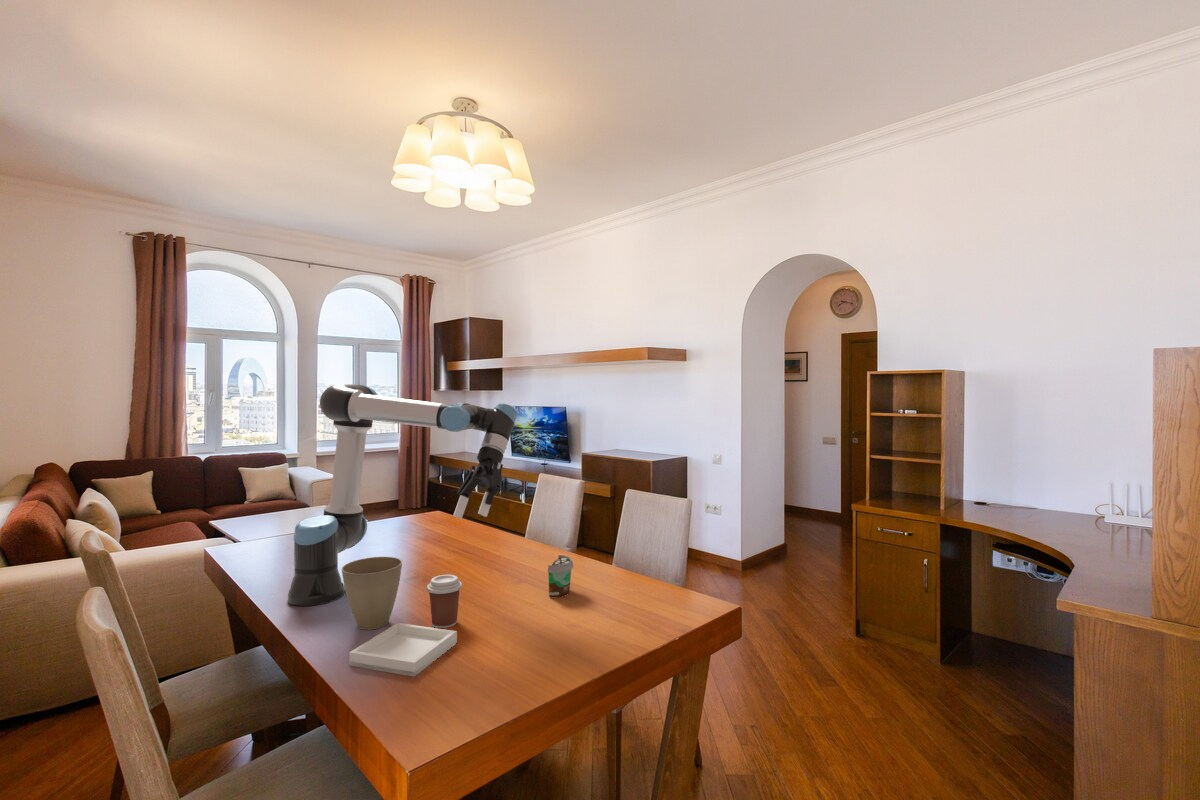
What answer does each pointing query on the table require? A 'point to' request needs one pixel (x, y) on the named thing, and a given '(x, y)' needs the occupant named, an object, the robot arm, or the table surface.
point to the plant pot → (372, 589)
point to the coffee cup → (444, 600)
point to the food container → (560, 576)
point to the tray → (403, 649)
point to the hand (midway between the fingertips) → (469, 516)
